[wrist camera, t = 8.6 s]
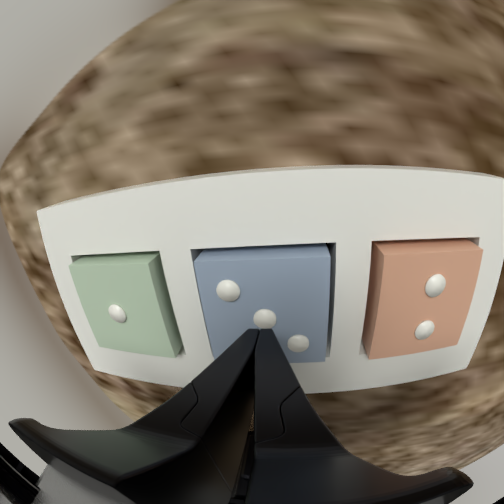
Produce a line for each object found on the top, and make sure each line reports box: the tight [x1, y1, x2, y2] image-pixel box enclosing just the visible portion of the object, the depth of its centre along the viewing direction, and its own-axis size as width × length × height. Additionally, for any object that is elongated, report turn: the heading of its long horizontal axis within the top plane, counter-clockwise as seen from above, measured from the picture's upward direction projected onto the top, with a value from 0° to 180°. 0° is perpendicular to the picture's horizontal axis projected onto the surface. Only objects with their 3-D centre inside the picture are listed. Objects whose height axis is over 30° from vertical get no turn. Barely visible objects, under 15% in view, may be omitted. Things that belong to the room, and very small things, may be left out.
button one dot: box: [68, 251, 183, 358], centre depth 13 cm, size 5×5×3 cm
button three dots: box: [194, 243, 331, 363], centre depth 12 cm, size 5×5×3 cm
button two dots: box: [362, 238, 483, 360], centre depth 11 cm, size 5×5×3 cm
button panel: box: [37, 165, 504, 394], centre depth 12 cm, size 11×24×2 cm, turn 95°
